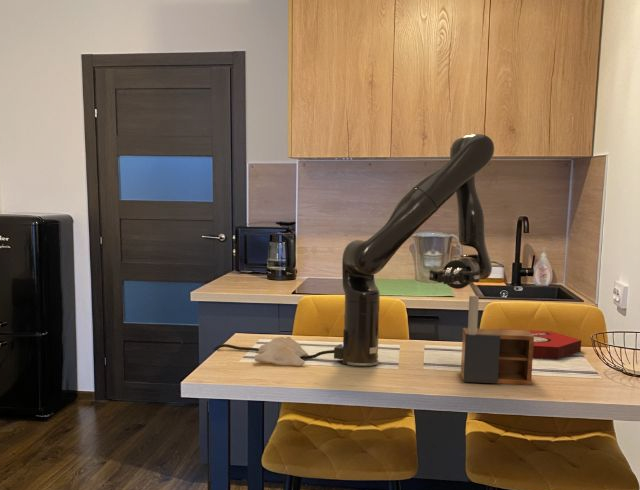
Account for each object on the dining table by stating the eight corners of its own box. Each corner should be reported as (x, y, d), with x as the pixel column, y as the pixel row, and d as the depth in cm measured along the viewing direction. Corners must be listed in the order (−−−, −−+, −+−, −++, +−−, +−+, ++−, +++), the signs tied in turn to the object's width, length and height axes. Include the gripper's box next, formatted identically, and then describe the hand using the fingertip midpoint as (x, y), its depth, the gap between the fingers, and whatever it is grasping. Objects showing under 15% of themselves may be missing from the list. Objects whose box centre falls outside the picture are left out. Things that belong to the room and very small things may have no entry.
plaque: (461, 341, 232) (516, 361, 204) (462, 330, 232) (517, 349, 203) (535, 337, 240) (598, 357, 211) (536, 327, 239) (599, 345, 210)
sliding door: (463, 382, 179) (468, 296, 176) (463, 380, 181) (467, 295, 178) (497, 384, 178) (502, 297, 175) (496, 381, 180) (501, 296, 177)
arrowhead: (252, 348, 195) (266, 326, 225) (252, 367, 196) (266, 342, 225) (306, 351, 194) (313, 328, 223) (305, 370, 195) (312, 345, 224)
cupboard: (463, 381, 181) (465, 333, 180) (460, 373, 189) (462, 327, 187) (531, 384, 179) (534, 336, 177) (525, 377, 187) (528, 330, 185)
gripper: (435, 257, 193) (419, 263, 178) (487, 259, 188) (475, 265, 172) (434, 285, 194) (418, 293, 179) (486, 288, 189) (474, 296, 173)
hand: (446, 279), depth 176 cm, fingers closed
